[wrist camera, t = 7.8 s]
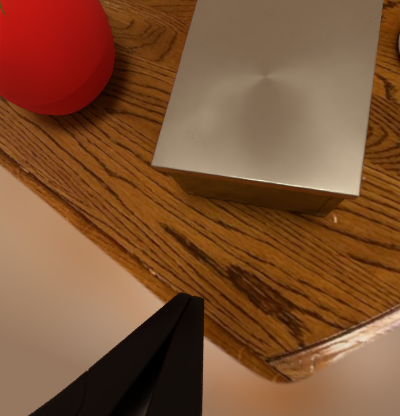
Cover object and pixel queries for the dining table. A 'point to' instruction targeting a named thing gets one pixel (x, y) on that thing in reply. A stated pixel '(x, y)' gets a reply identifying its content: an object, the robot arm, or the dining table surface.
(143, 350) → the robot arm
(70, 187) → the dining table surface
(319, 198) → the metal tin box
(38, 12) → the tomato
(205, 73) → the bin lid
